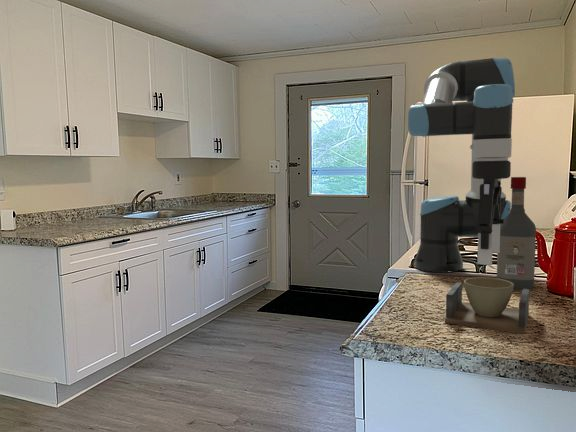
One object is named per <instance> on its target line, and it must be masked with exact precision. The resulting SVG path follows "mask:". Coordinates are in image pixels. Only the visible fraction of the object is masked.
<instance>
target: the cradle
mask: <svg viewBox="0 0 576 432" xmlns="http://www.w3.org/2000/svg"><path fill="white" fill-rule="evenodd" d="M521 291H522V292H521V296H520V299H519V302H518V308H515V307H507V306H506V308H505V310H504V311H503V312H502V314H501V315H500V316H499V317H484V316H480V315H477V314H476V313H475V311H474V310H473V308H472V306H471V304H470V302H463V283H462V282H455V284H454V285H453V286H452V287H451V288H450V289H449V291H448V292H447V293H446V297H445V299H446V301H445V302H446V303H445V319H444V324H451V325H459V326H466V327H472V328H479V329H486V330H494V331H499V332H501V331H502V332H509V333H515V334H520V335H521V334H522V335H523V334H524V335H525V334H526V329H527V325H528V319H529V313H530V312H529V311H530V309H529V306H530V290H529V289H523V290H521Z"/></svg>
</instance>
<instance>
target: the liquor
mask: <svg viewBox="0 0 576 432" xmlns="http://www.w3.org/2000/svg"><path fill="white" fill-rule="evenodd" d="M510 189H511V209H510V213H509V214H508V216H507V217H506V218H505V219H504V223H503V224H500V252H499V253H496V254H497V256H496V278H497V279H503V280H506V281H509V282H512V283H513V284H514V288H513V290H516V291H523V289H529V291H530V290H533V288H534V286H535V269H536V267H535V265H536V236H537V234H536V233H537V228H536V227H537V226H536V225H535V223H534V221H533V220H532V219H531V218H530V217H529V216H528V214H527V213H526V210H525V189H527V177H526V176H510Z"/></svg>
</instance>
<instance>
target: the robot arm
mask: <svg viewBox="0 0 576 432" xmlns="http://www.w3.org/2000/svg"><path fill="white" fill-rule="evenodd" d="M515 86H516V85H515V75H514V69H513V63H512V61H511V59H509V58H507V57H492V58H482V59H474V60H473V59H472V60H464V61H453V62H451V63H447V64H445V65H443V66H441V67H439V68H437V69H435V70H434V71H432V73H431V74H430V75H429V76H428V77H427V78H426V80H425V83H424V85H423V94H424V96H423V99H422V101H421V103H419V104H415V105H414V104H413V105H410V106H409V108H408V112H407V128H408V133H409V135H410V136H412V137H423V138H426V137H433V136H434V137H438V136H439V137H441V136H456V135H457V136H458V135H459V136H460V135H463V136H464V135H471V144H470V146H469V149H470V150H471V162H470V163H471V167H470V168H471V169H470V171H471V172H470V173H471V174H470V175H471V176H470V190H469V191H468V192H467V193H466V194H465V200H464V199H463V200H460V198H459V196H458V195H449V196H440V197H432V198H427V199H424V200H422V202H421V204H420V214H419V216H420V233H419V234H420V235H419V236H420V241H419V243H420V245H419V247H418V250H417V253H416V256H415V259H414V268H415V267H416V268H415V269H418V270H420V269H421V270H420V271H424V270H426V271H425V272H430V271H432V272H431V273H449V272H448V271H456V272H458V271H457V270H460V271H462V270H463V269H464V262H463V258H462V255H461V252H460V249H459V245H458V244H459V243H458V242H459V241H458V238H460V237H462V238H477V265H486V266H492V265H493V254H495V253H496V254H497V253H499V252H500V224H503V223H504V219H505V218H506V217H507V216H508V214H509V213H510V210H511V204H512V201H510V200H509V199H507V196H506V194H505V193H504V192H503V191H502V189H503V188H502V185H501V184H502V180H503V179H509V178H511V169H512V168H511V167H512V166H511V163H512V162H510V160H509V158H511V157H512V149H513V147H512V146H513V145H512V143H513V142H512V141H513V139H512V122H513V103H514V97H516V96H515V95H516V90H515V88H516V87H515ZM462 268H463V269H462ZM461 269H462V270H461Z"/></svg>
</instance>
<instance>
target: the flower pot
mask: <svg viewBox="0 0 576 432" xmlns="http://www.w3.org/2000/svg"><path fill="white" fill-rule="evenodd" d="M463 282H464V290H465V294H466V297H467V299H468V303H470V304H471V306H472V308H473V310H474V311H475V313H476V314H477V315H480V316H484V317H499V316H500V315H501V314H502V312H503V311H504V310H505V308H506V307H507V306H508V305H509V302H510V300H511V298H512V294H513V293H514V292H513V290H514V289H513V288H514V284H513V283H512V282H509V281H506V280H503V279H497V277H482V276H481V277H479V276H478V277H469V278H466V279H464V281H463Z"/></svg>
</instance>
